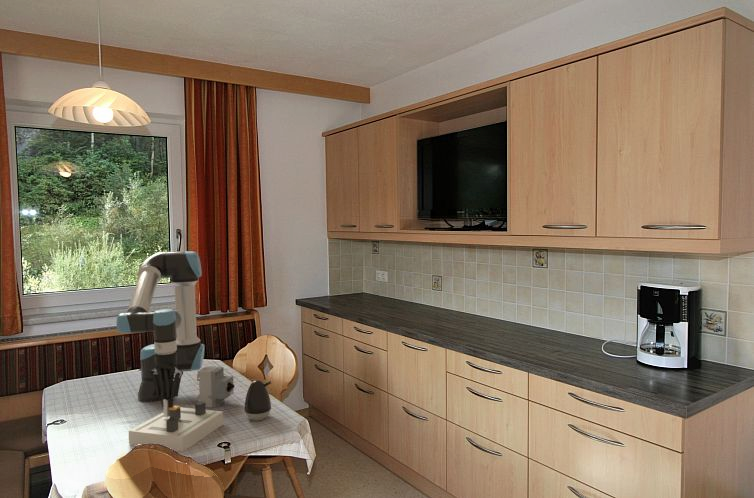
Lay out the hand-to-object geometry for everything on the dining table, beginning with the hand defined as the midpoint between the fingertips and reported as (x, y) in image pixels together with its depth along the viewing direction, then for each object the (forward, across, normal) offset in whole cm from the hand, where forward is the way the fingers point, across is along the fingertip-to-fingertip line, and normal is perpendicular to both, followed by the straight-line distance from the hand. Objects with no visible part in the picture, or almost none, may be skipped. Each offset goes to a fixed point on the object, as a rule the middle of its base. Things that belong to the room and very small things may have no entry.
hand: (168, 415), depth 187 cm
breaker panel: (+7, +4, 0) cm, 8 cm away
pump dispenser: (+7, +25, +21) cm, 33 cm away
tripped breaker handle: (+1, +3, 0) cm, 3 cm away
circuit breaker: (+7, 0, +31) cm, 32 cm away
